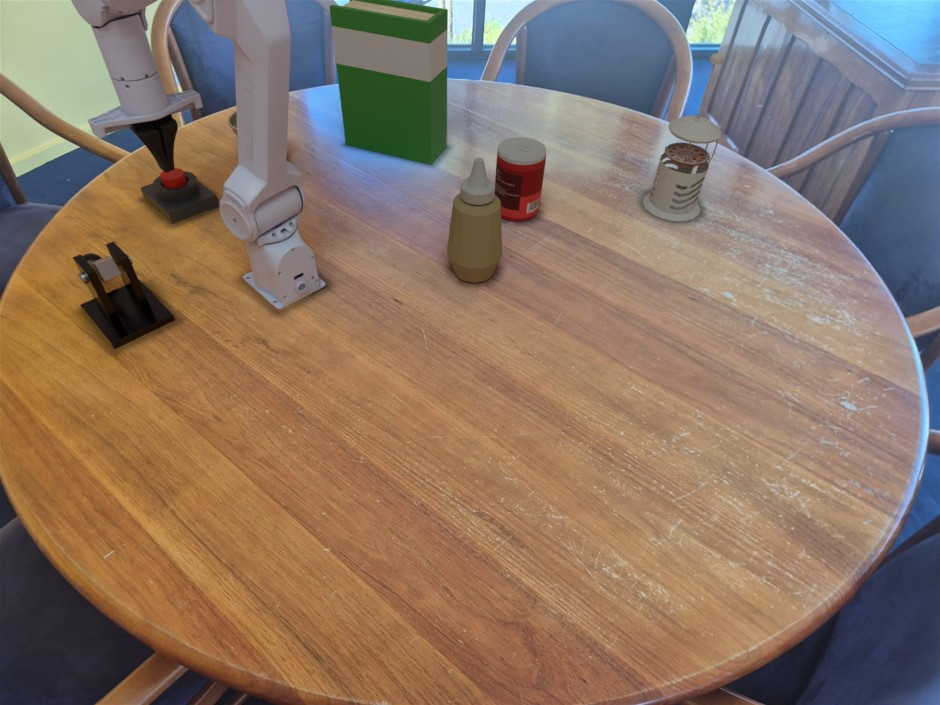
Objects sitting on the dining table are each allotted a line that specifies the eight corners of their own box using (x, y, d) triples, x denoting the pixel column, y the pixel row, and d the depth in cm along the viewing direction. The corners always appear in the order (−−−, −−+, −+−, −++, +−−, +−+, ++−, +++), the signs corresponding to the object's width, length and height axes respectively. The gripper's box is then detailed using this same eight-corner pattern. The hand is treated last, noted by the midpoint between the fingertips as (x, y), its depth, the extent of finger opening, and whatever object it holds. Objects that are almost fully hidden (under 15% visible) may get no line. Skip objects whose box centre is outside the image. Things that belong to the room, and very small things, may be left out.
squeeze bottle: (495, 292, 89) (505, 180, 76) (440, 283, 90) (440, 171, 77) (504, 259, 94) (515, 148, 81) (453, 251, 95) (455, 141, 82)
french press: (630, 200, 107) (668, 49, 89) (674, 181, 112) (719, 34, 94) (674, 228, 102) (724, 72, 84) (718, 206, 107) (775, 55, 89)
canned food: (539, 198, 107) (547, 138, 99) (538, 225, 101) (546, 163, 93) (495, 195, 107) (499, 134, 99) (491, 221, 101) (495, 159, 93)
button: (191, 184, 99) (188, 174, 98) (169, 192, 98) (166, 182, 96) (180, 175, 101) (177, 165, 100) (159, 183, 99) (155, 173, 98)
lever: (84, 280, 86) (71, 258, 84) (107, 270, 87) (95, 249, 86) (102, 286, 76) (87, 262, 74) (128, 275, 77) (114, 252, 76)
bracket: (83, 311, 83) (50, 251, 76) (141, 285, 87) (115, 227, 80) (115, 350, 78) (83, 290, 71) (175, 321, 82) (150, 262, 75)
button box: (219, 206, 101) (213, 184, 99) (173, 225, 97) (165, 203, 95) (190, 182, 106) (183, 161, 103) (144, 199, 102) (136, 177, 99)
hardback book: (345, 145, 117) (329, 6, 100) (364, 128, 122) (351, -7, 105) (431, 164, 113) (429, 23, 96) (446, 146, 118) (447, 9, 101)
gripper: (173, 50, 85) (200, 142, 95) (63, 77, 78) (105, 174, 88) (198, 65, 82) (223, 160, 92) (85, 95, 75) (126, 194, 84)
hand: (167, 168), depth 90 cm, fingers closed
